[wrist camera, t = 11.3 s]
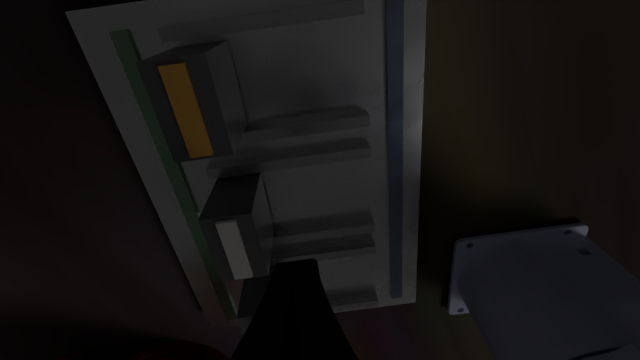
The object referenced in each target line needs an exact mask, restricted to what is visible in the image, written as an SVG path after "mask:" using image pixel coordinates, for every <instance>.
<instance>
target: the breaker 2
mask: <svg viewBox="0 0 640 360" xmlns="http://www.w3.org/2000/svg"><path fill="white" fill-rule="evenodd" d="M273 269H274V267H270V270H269V275H268V276H260V277H253V278H245V279H244V281H243V286H242V291H241V296H240V301H239V306H238V311H237V316H236V320H237V322H238V325H239V328H240V330H241V333H242V335H244V334H245V332H246V330H247V328H248V326H249V324H250V322H251V320H252V318H253V316H254V314H255V312H256V310H257V308H258V306H259V303H260V301H261V299H262V297H263V295H264V292H265V290H266V287H267V285H268V283H269V280H270V277H271V275H272V272H273Z"/></svg>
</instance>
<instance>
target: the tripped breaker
mask: <svg viewBox="0 0 640 360" xmlns="http://www.w3.org/2000/svg"><path fill="white" fill-rule="evenodd" d="M136 66H137V68H138V71H139V73H140V76H141V78H142V81H143V84H144V86H145V89H146V91H147V94H148V96H149V99H150V101H151V104H152V107H153V109H154V112H155V114H156V117H157V119H158V122H159V124H160V127H161V130H162V132H163V135H164V137H165V140H166V142H167V145H168V148H169V150H170V153H171V155H172V158H173V160H174V163H179V162H186V161H194V160H201V159H208V158H216V157H223V156H230V155H234V154H235V151H236V149H237V147H238V144H239V142H240V139H241V137H242V135H243V132H244V130H245V127H246V125H247V123H248V122H247V118H246V114H245V110H244V106H243V102H242V98H241V94H240V90H239V86H238V82H237V78H236V74H235V70H234V65H233V61H232V57H231V53H230V49H229V45H228V41H227V40H225V41H218V42H211V43H204V44H197V45H189V46H182V47H175V48H172V49H169V50H167V51H164V52H162V53H159V54H157V55H154V56H152V57H149V58H146V59H144V60H141V61H139V62H136Z"/></svg>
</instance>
